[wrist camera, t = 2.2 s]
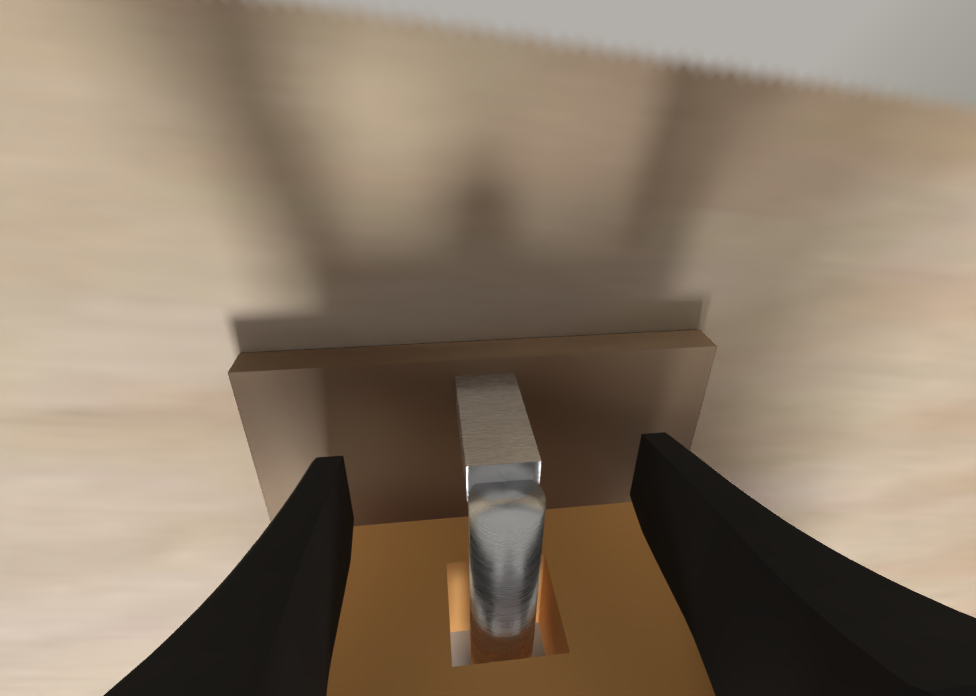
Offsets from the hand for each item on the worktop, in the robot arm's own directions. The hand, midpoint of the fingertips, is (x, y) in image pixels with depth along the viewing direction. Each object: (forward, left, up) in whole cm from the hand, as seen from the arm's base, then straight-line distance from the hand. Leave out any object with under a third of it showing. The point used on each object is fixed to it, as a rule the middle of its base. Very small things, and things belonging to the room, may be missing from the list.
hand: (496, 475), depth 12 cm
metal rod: (-7, 0, -3) cm, 8 cm away
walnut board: (-7, 0, -3) cm, 8 cm away
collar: (-4, 0, -1) cm, 4 cm away
